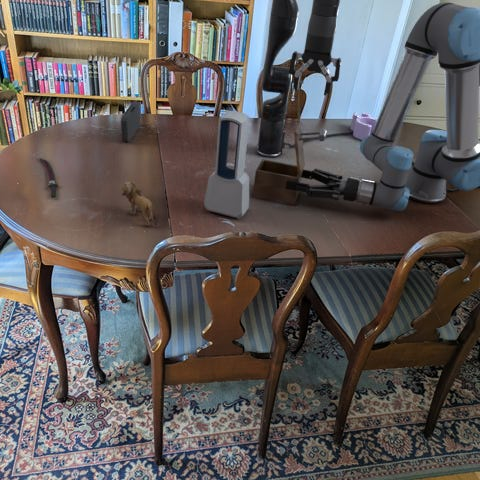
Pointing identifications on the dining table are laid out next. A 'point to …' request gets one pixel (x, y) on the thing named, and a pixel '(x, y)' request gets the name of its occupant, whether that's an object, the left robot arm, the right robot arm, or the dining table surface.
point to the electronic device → (229, 170)
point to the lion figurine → (137, 201)
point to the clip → (362, 125)
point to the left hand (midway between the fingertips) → (310, 92)
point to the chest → (275, 182)
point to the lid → (299, 145)
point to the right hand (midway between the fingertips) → (288, 177)
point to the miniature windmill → (296, 99)
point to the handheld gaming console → (130, 121)
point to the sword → (52, 181)
